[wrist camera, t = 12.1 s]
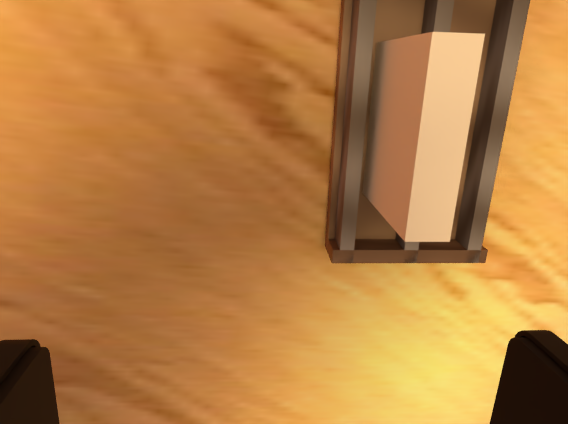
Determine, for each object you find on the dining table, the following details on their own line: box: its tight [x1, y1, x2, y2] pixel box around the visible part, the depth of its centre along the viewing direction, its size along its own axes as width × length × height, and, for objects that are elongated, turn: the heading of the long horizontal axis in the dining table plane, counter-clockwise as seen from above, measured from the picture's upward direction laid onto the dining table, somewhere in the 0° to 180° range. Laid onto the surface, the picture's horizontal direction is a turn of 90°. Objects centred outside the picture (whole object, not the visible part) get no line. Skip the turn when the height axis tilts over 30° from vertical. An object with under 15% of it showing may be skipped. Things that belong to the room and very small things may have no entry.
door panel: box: [362, 32, 485, 242], centre depth 25 cm, size 10×2×9 cm, turn 178°
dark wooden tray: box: [325, 0, 530, 263], centre depth 28 cm, size 19×11×3 cm, turn 178°
